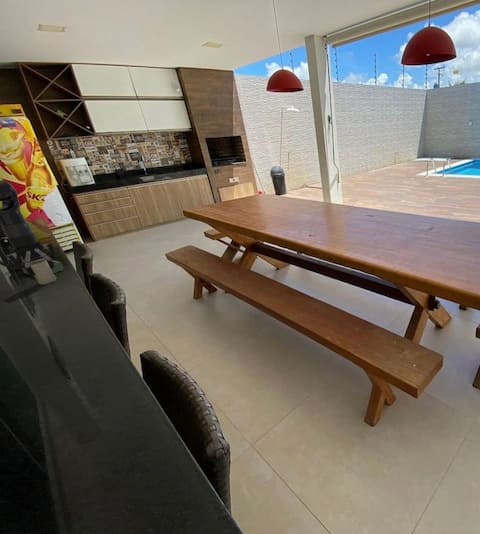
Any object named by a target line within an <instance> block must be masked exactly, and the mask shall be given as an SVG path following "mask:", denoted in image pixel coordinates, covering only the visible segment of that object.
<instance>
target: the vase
mask: <svg viewBox="0 0 480 534" xmlns="http://www.w3.org/2000/svg"><path fill="white" fill-rule="evenodd" d="M19 259H20V260H21V261H22V257H21V256H19ZM39 259H42V257H40V256H38V257H34V258H32V259H30V262H33V261H36V260H39ZM30 262H29V263H30Z"/></svg>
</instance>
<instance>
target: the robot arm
mask: <svg viewBox="0 0 480 534" xmlns="http://www.w3.org/2000/svg"><path fill="white" fill-rule="evenodd" d="M0 202H1V206H0V227H1V229H2V231H3V233H4V235H5V236H6V237H7V240H8V241H9V243H10V245H11V246H12V248H13V251H14V252H13V253H10V254H7V255H5V257H6V259H7V260H8V261H9V262H10V263H11V264H12V265H13V266H14V267H15V268H17V269H19V270H20V269H21V270H22V268H24V269H25V270H26V272H27V274H26V275H28V274H29V275H28V276H32V277H35V276H34V275H35V274H34V272H33V270H32V269H31V267H29V263H30V259H32V258H34V257H38V256H40V257H41V259H42V258H43V259H45V260H47V262H48V264H49V266H50V267H51V269H54V268H53V267H54V264H53V262H52V261H51V260H53V259H54V258H56V253H55V250H54V247H53V244H52V243H49V242H47V243H44V244H43V243H41V242H40V240H39V239H38V237H37V235H36V234H35V232H34V229H33V228H32V226H31V225H30V224H29V222H28V221H27V219H26V217H25V216H24V214H23V212H22V210H21V205H20V201H19V195H18V191H17V189H16V188H15V187H14V186H13V185H12V184H11V183H10V182H9V181H5V180H0ZM44 249H45V250H46V251H47V254H45V253H44V251H43V250H44ZM17 256H18V257H20V256H21V257H22V260H21V263H20V262H19V261H18V260H17V259H18V257H17Z"/></svg>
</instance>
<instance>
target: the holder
mask: <svg viewBox="0 0 480 534" xmlns="http://www.w3.org/2000/svg"><path fill="white" fill-rule="evenodd" d="M42 259H43V258H42V257H41V259H38V260H42ZM36 261H37V260H36ZM51 261H52V262H53V264H54V267H53V268H54V269H52V271H53V273H55V274H58V273H60V272H59V271H61V272H64V271H65V270H66V269H65V268H64V266H63V264H62V262H61V261H57V260H53V259H51ZM32 262H34V261H32ZM29 263H31V262H29ZM63 270H64V271H63ZM21 271H23V273H24V274H25V275H28V276H30V275H29V274H27V272H26V270H25V269H24V268H21ZM57 272H58V273H57Z"/></svg>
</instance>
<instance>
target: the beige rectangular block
mask: <svg viewBox="0 0 480 534" xmlns="http://www.w3.org/2000/svg"><path fill="white" fill-rule="evenodd" d="M41 259H42V258H41ZM29 267H31V269H32V270H33V272H34V274H35V275H34V276H33V277H34V278H35V280H36V282H37V283H38V285H49V284H51V283H54V282H56V281H57V280H58V278H57V275H56V273H55V274H54V273H53V271H52V269H51V267H50V266H49V264H48V262H47V260H45V259H42V260H39V259H38V260H37V261H34V262H33V261H32V262H31V263H30V262H29ZM56 279H57V280H56Z"/></svg>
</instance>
